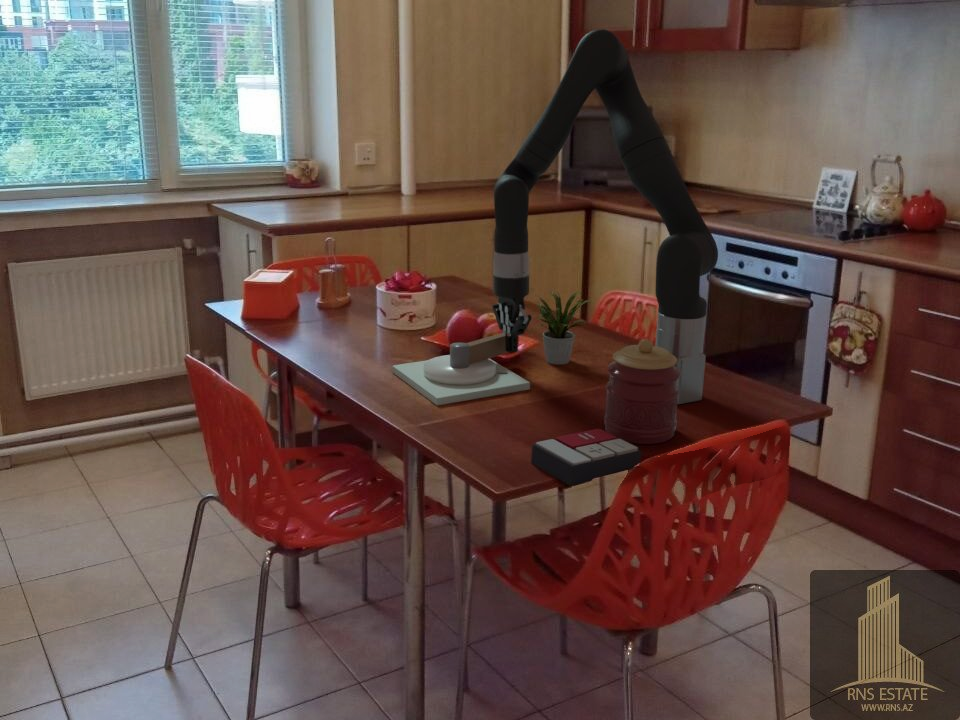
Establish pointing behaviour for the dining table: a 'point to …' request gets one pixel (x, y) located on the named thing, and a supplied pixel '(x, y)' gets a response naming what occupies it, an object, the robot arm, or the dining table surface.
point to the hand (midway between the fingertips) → (511, 351)
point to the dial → (467, 362)
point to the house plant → (559, 329)
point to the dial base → (456, 393)
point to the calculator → (584, 456)
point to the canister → (642, 394)
